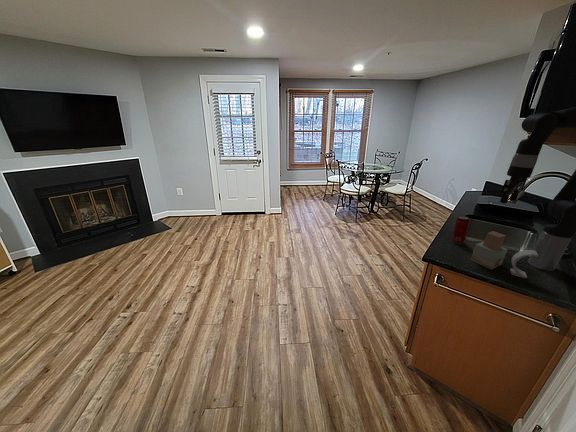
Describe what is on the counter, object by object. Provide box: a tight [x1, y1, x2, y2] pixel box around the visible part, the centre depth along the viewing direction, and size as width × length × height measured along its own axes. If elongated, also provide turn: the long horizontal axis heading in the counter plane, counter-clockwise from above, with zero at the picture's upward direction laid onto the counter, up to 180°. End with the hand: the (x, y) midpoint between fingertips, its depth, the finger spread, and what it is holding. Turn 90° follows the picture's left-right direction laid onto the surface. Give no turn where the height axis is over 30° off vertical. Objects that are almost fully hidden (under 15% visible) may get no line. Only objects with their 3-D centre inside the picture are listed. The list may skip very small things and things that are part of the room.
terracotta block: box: [483, 230, 507, 250], centre depth 110 cm, size 5×5×6 cm
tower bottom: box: [470, 252, 506, 270], centre depth 113 cm, size 9×9×4 cm
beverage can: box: [451, 215, 470, 245], centre depth 131 cm, size 6×6×15 cm
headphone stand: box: [509, 249, 538, 279], centre depth 104 cm, size 5×6×12 cm
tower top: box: [472, 241, 509, 262], centre depth 112 cm, size 9×9×4 cm
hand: (507, 201), depth 104 cm, fingers open, 8 cm apart
